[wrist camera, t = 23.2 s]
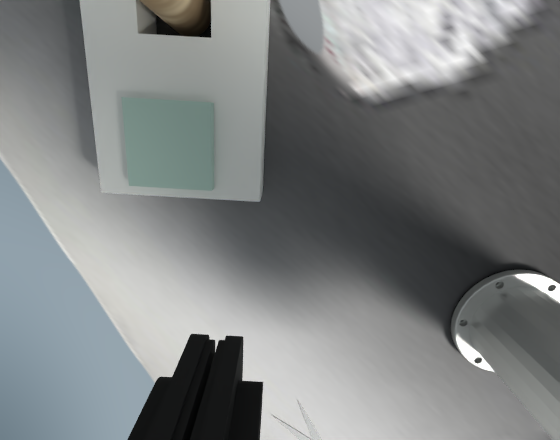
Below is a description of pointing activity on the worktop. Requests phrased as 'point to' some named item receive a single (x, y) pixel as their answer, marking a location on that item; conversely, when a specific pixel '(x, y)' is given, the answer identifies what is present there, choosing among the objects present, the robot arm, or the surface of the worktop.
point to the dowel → (183, 14)
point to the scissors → (312, 429)
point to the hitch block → (181, 87)
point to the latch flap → (169, 143)
